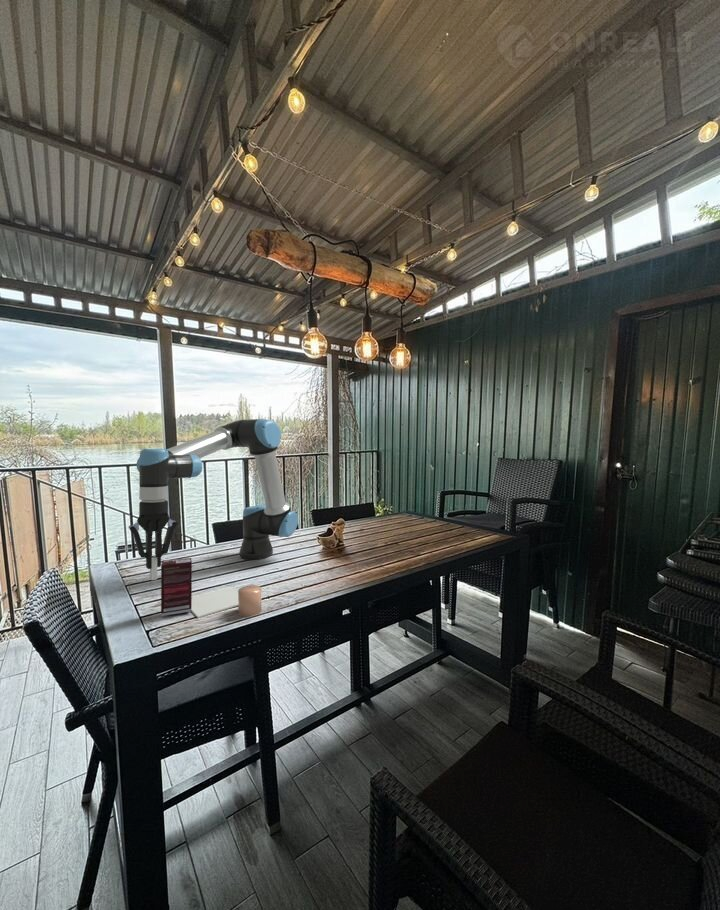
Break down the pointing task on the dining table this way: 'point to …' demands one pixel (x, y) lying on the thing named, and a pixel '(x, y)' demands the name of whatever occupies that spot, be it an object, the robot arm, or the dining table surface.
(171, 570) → the supplement box
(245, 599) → the peach pillar candle
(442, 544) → the dining table surface
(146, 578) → the dining table surface
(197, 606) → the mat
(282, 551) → the dining table surface
